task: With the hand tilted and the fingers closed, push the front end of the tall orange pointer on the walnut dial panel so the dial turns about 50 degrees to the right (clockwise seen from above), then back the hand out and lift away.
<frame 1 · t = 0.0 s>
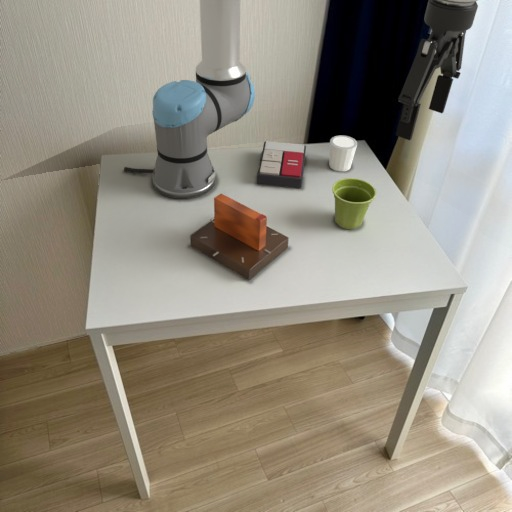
hand: (420, 123, 95), 28 cm above the table, tool pointing down, fingers open, 13 cm apart
white fluted cup: (339, 166, 136), on the table
plant pot: (348, 222, 119), on the table
dial panel: (239, 247, 111), on the table
calculator: (281, 170, 133), on the table
pointer: (239, 221, 106), point 7 cm above the table, hinge at 0.0°
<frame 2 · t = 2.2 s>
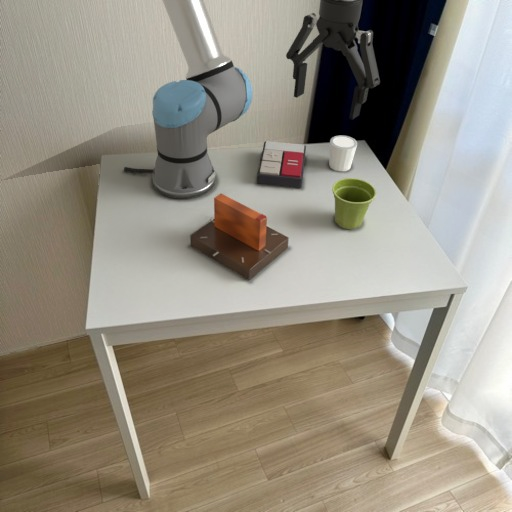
hand: (325, 105, 107), 24 cm above the table, tool pointing down, fingers open, 13 cm apart
nothing on the table moved.
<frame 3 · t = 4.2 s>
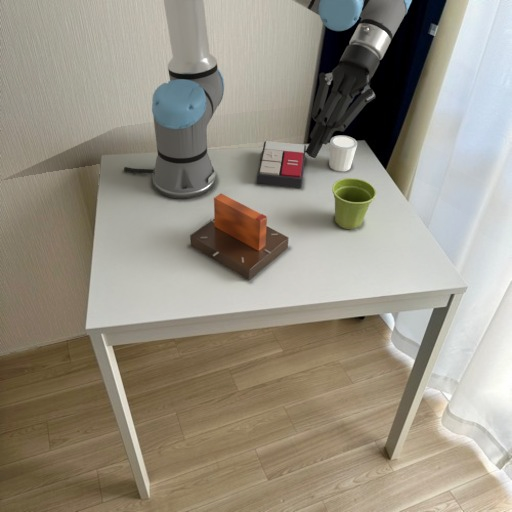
hand: (310, 155, 109), 16 cm above the table, tool tilted 45°, fingers closed
nothing on the table moved.
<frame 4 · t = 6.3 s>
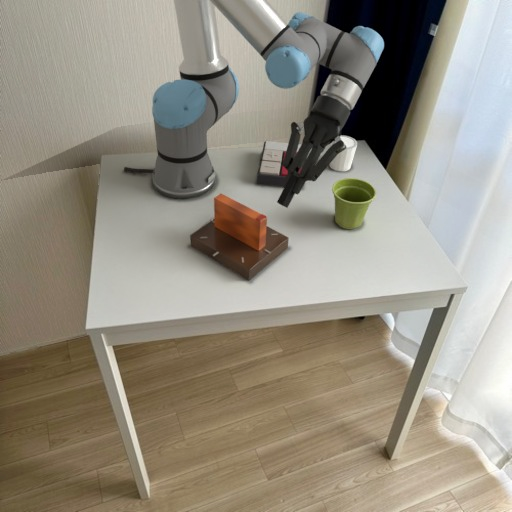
hand: (282, 205, 108), 8 cm above the table, tool tilted 45°, fingers closed
nothing on the table moved.
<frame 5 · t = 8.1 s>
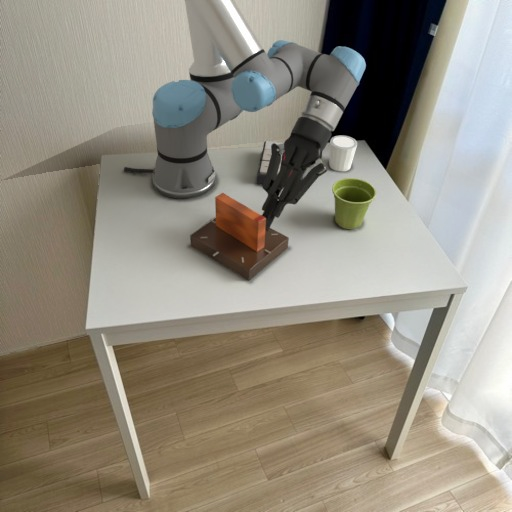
hand: (262, 228, 106), 6 cm above the table, tool tilted 45°, fingers closed
pointer: (239, 221, 106), point 7 cm above the table, hinge at -4.1°, touching gripper
everything else where it was.
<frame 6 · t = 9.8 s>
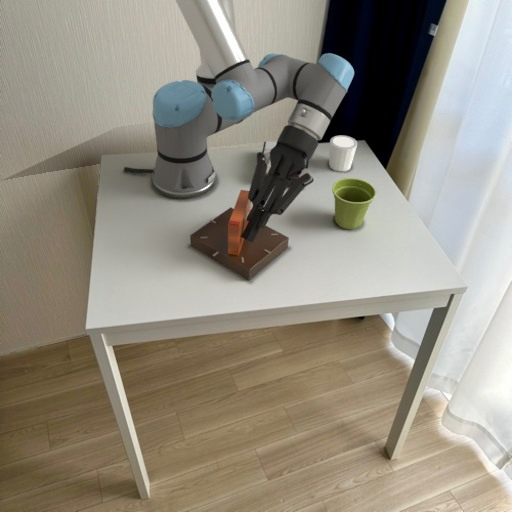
hand: (246, 239, 103), 6 cm above the table, tool tilted 45°, fingers closed
pointer: (239, 221, 106), point 7 cm above the table, hinge at -62.0°, touching gripper
everything else where it was.
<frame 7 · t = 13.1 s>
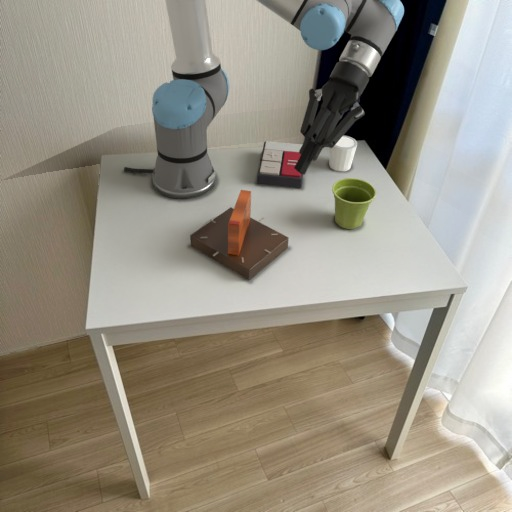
hand: (299, 171, 108), 14 cm above the table, tool tilted 45°, fingers closed
pointer: (239, 221, 106), point 7 cm above the table, hinge at -62.0°
everything else where it was.
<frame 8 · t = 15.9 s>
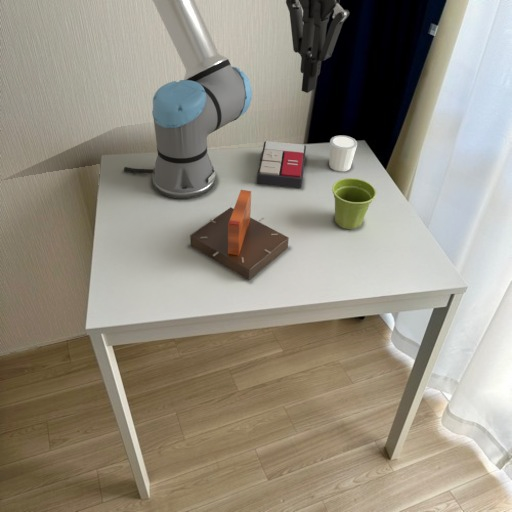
hand: (308, 89, 108), 26 cm above the table, tool pointing down, fingers closed
nothing on the table moved.
at the end: pointer at -62° (first picture: +0°) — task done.
